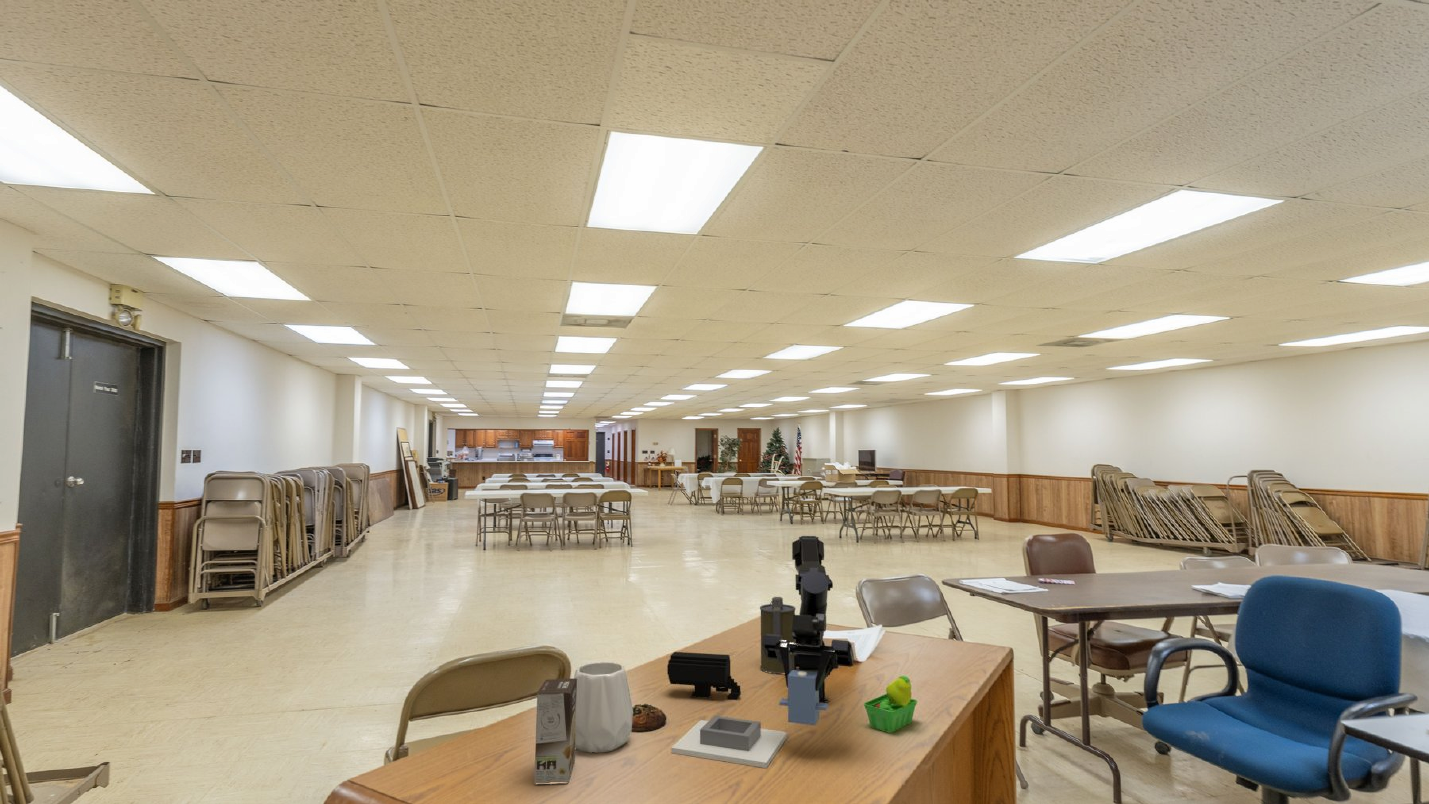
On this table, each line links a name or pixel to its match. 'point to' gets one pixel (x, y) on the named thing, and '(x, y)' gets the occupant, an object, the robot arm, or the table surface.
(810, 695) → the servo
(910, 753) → the table surface
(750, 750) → the plate
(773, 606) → the canister
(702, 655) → the security camera
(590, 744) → the vase
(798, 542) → the robot arm
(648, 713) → the bread roll
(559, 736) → the coffee box
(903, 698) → the fruit basket
